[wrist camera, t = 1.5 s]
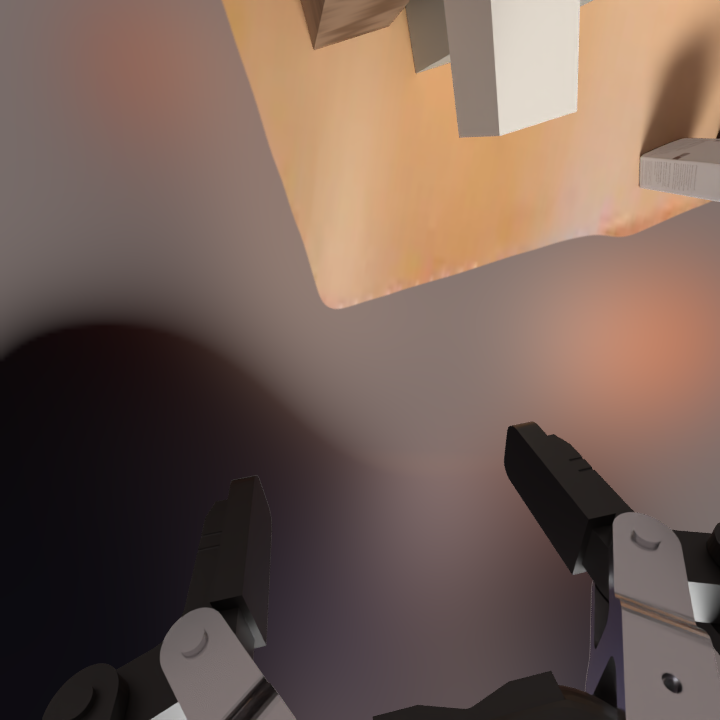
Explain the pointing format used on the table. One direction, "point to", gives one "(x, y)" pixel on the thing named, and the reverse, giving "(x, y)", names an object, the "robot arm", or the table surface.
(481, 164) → the table surface
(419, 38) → the pale green block
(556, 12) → the bar
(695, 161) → the skincare box
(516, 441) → the robot arm
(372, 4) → the brown tall block
